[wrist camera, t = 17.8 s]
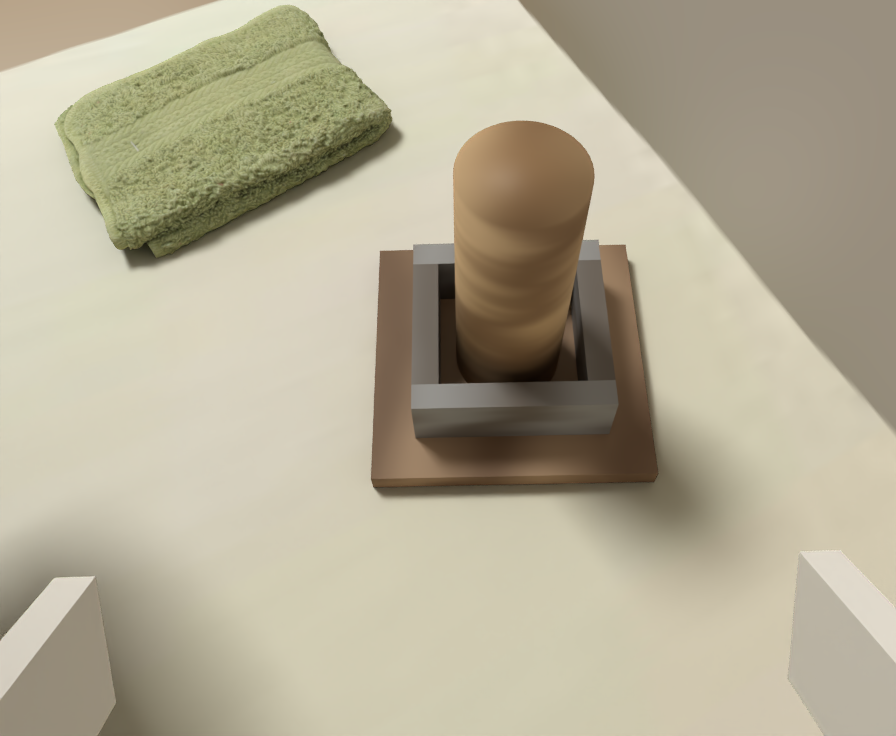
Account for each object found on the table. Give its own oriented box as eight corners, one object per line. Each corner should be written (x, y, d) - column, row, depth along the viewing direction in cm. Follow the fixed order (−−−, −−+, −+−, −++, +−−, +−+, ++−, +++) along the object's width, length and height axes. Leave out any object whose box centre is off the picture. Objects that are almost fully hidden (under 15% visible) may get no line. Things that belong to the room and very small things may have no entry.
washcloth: (52, 138, 52) (28, 97, 49) (305, 28, 56) (296, -15, 53) (134, 281, 46) (111, 245, 43) (408, 146, 50) (403, 105, 48)
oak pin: (458, 402, 40) (455, 230, 29) (454, 313, 42) (450, 122, 31) (563, 398, 40) (602, 225, 29) (553, 310, 42) (586, 118, 31)
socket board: (373, 487, 39) (363, 451, 36) (382, 262, 45) (373, 213, 42) (654, 481, 39) (671, 445, 35) (622, 256, 45) (634, 207, 42)
